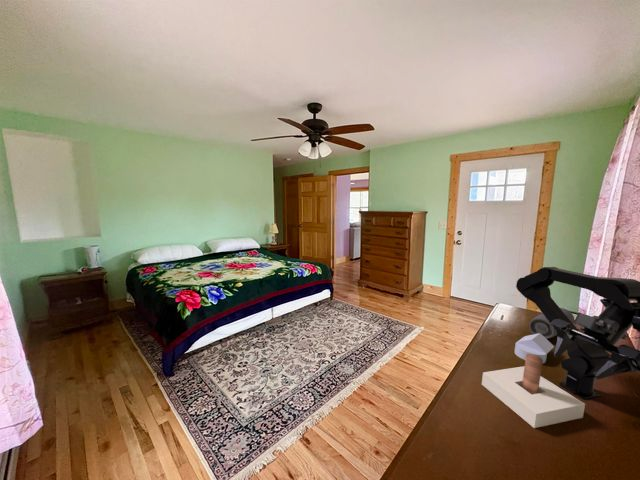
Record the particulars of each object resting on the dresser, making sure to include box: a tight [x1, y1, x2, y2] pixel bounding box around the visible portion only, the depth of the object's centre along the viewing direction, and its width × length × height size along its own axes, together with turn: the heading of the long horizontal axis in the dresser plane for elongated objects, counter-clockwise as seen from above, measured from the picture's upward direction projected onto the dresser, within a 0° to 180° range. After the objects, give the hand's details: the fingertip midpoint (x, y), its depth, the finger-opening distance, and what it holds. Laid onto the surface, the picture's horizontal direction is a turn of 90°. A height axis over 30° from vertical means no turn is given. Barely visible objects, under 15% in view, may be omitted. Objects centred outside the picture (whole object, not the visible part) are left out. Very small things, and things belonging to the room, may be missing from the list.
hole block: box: [481, 365, 586, 429], centre depth 73 cm, size 16×16×4 cm
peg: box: [522, 354, 544, 394], centre depth 73 cm, size 4×4×13 cm
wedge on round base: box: [514, 333, 555, 365], centre depth 96 cm, size 9×7×13 cm
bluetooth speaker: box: [528, 307, 575, 340], centre depth 111 cm, size 23×9×10 cm, turn 120°
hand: (574, 366), depth 67 cm, fingers open, 9 cm apart
